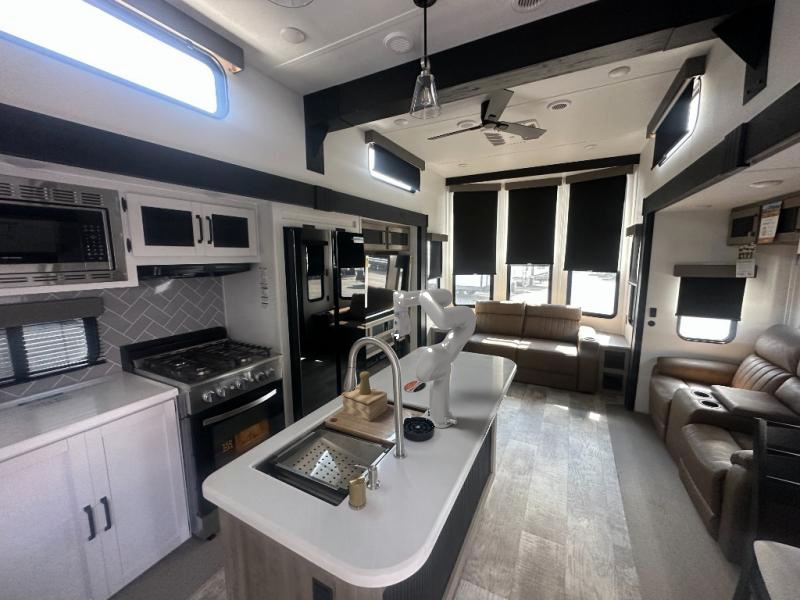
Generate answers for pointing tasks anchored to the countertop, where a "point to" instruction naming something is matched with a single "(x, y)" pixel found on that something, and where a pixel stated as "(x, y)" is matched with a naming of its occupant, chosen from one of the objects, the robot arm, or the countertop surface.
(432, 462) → the countertop surface
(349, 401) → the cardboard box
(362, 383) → the tan tapered cylinder
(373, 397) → the box lid
